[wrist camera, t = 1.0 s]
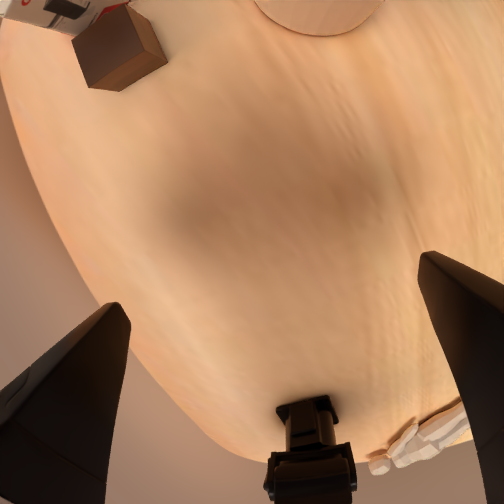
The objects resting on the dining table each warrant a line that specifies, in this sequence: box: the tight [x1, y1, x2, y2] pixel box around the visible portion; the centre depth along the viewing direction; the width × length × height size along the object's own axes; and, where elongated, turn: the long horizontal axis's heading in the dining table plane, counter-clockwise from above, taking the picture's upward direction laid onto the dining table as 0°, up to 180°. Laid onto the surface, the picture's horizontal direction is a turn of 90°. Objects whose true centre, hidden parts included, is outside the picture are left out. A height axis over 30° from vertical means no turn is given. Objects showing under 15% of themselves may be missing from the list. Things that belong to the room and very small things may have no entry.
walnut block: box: [71, 3, 168, 92], centre depth 15 cm, size 4×4×4 cm
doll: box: [368, 401, 470, 475], centre depth 31 cm, size 12×6×25 cm
